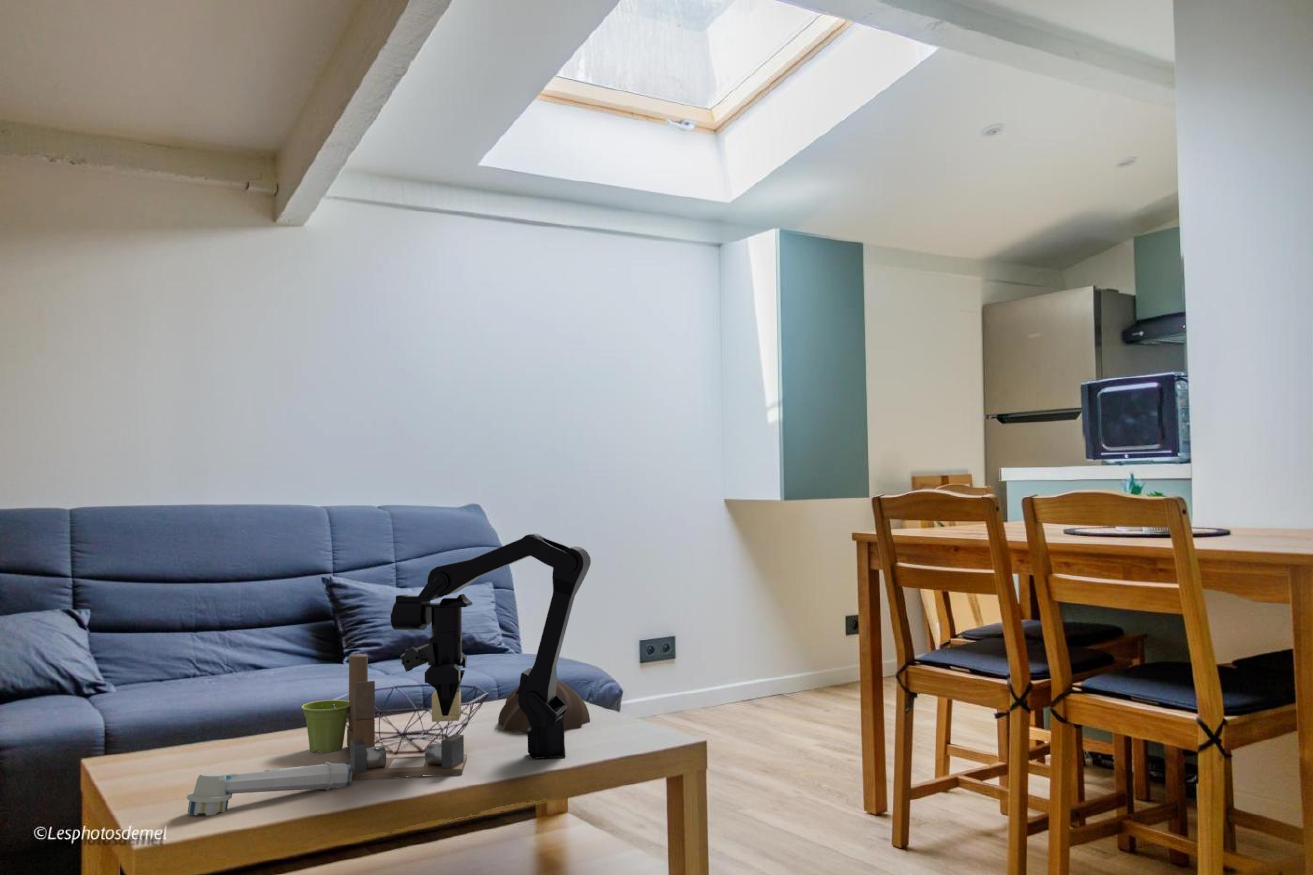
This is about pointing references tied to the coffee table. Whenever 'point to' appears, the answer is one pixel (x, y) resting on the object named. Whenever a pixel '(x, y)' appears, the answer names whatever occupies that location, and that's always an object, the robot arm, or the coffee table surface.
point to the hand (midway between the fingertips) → (446, 712)
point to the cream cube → (454, 711)
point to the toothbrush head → (263, 784)
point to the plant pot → (326, 724)
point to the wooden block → (361, 702)
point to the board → (407, 769)
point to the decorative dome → (573, 719)
